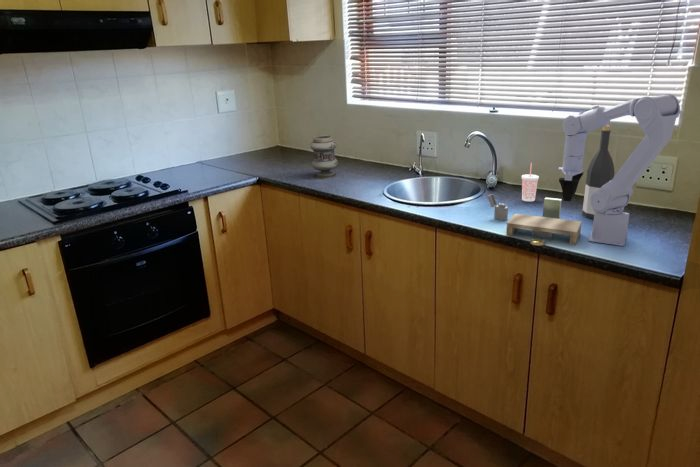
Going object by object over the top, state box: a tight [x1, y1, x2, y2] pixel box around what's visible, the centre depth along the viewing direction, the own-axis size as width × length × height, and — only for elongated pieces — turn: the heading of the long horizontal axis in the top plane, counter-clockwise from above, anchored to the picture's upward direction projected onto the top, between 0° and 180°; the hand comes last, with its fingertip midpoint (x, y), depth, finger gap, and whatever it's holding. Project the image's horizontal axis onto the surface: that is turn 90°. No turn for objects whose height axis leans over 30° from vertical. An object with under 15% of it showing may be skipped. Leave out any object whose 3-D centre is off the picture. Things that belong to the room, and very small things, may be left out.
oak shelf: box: [505, 213, 582, 246], centre depth 162 cm, size 20×10×4 cm, turn 60°
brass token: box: [530, 238, 546, 247], centre depth 157 cm, size 4×4×1 cm
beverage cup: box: [521, 162, 540, 203], centre depth 195 cm, size 6×6×14 cm
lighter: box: [486, 193, 509, 221], centre depth 178 cm, size 7×2×8 cm, turn 47°
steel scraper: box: [532, 196, 563, 239], centre depth 166 cm, size 6×15×8 cm, turn 150°
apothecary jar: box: [310, 134, 339, 179], centre depth 241 cm, size 12×12×18 cm
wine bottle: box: [581, 124, 616, 220], centre depth 172 cm, size 8×8×30 cm
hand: (569, 197), depth 166 cm, fingers open, 7 cm apart
